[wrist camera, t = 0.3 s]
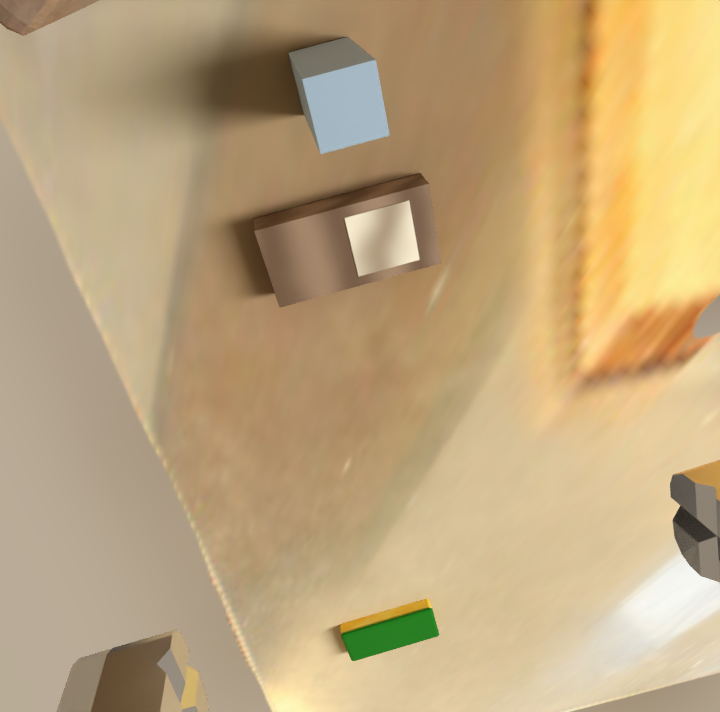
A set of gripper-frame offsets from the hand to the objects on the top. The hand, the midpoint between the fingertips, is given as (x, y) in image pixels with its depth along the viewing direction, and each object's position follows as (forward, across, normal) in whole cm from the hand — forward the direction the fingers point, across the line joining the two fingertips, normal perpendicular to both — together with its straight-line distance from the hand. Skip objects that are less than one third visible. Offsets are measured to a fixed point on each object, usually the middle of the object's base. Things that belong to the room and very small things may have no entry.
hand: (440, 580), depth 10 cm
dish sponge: (+70, 0, +64) cm, 94 cm away
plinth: (+53, -6, +3) cm, 53 cm away
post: (+49, -7, -11) cm, 51 cm away
